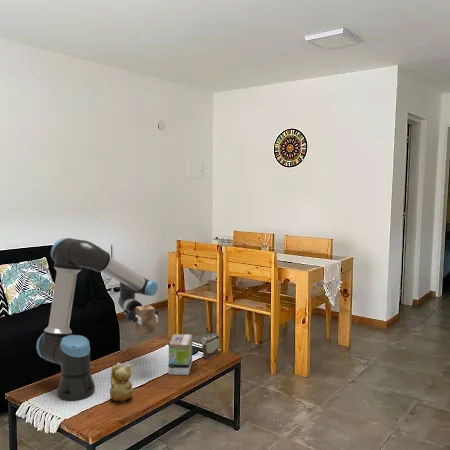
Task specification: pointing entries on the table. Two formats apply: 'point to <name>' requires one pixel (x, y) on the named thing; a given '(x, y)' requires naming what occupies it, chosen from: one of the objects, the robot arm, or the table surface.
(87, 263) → the robot arm
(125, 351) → the table surface
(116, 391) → the decorative figurine
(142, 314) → the walnut block
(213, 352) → the food container
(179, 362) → the tea box
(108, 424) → the table surface
